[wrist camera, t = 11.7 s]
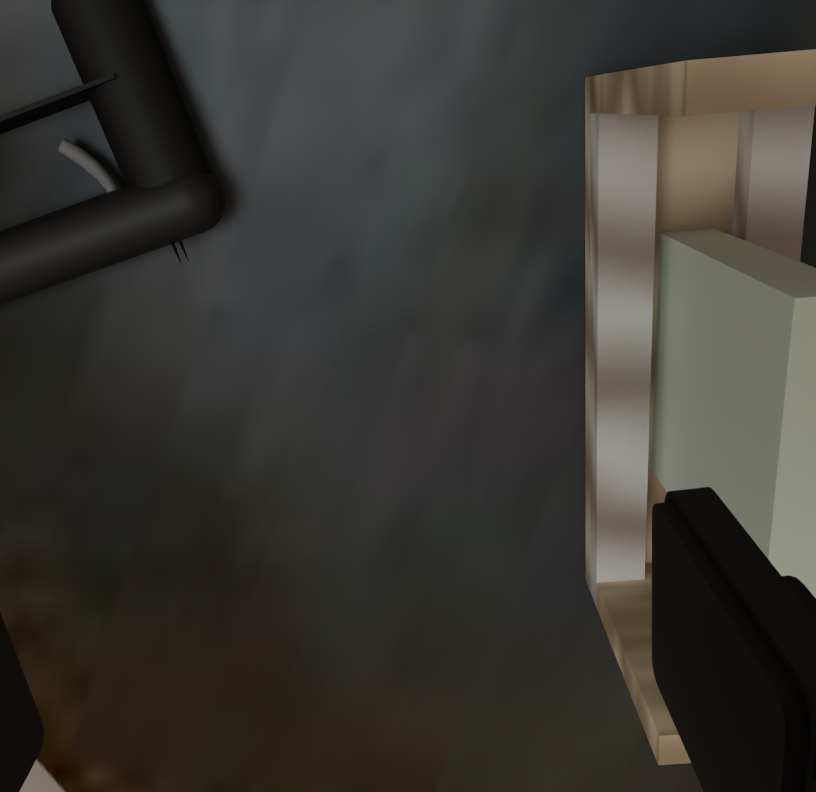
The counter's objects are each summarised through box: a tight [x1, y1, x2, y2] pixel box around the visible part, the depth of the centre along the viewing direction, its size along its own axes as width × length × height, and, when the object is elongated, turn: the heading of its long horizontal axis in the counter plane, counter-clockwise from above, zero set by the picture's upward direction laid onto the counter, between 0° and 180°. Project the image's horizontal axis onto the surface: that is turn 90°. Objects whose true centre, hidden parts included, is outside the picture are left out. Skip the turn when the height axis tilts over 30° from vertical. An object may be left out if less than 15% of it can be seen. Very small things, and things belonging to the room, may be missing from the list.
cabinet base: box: [585, 49, 816, 765], centre depth 33 cm, size 26×9×13 cm, turn 5°
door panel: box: [651, 229, 816, 598], centre depth 32 cm, size 12×3×13 cm, turn 4°
